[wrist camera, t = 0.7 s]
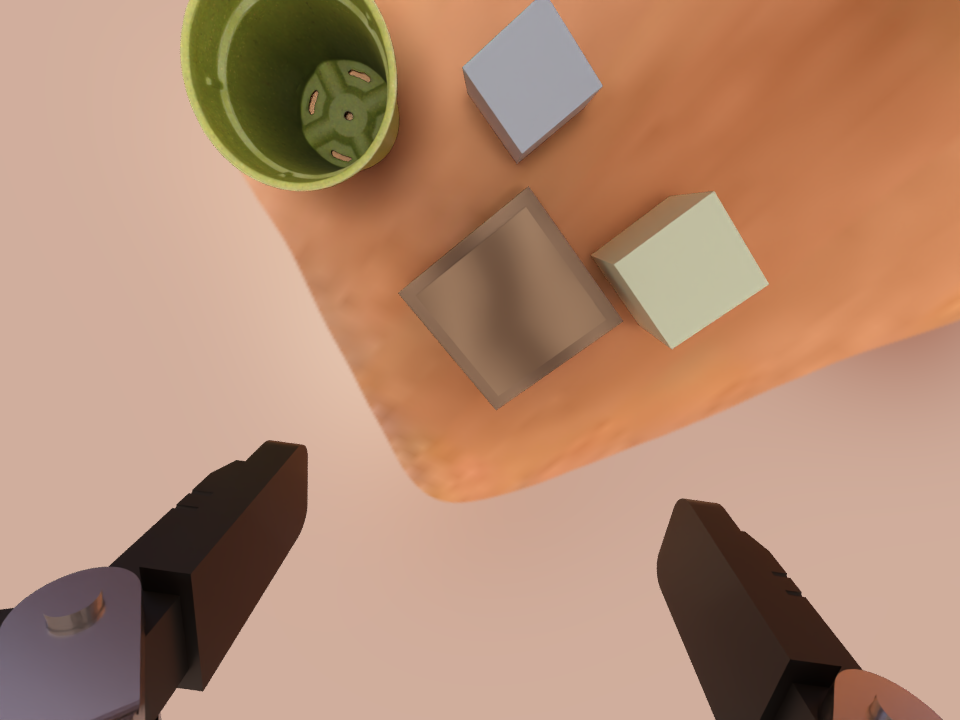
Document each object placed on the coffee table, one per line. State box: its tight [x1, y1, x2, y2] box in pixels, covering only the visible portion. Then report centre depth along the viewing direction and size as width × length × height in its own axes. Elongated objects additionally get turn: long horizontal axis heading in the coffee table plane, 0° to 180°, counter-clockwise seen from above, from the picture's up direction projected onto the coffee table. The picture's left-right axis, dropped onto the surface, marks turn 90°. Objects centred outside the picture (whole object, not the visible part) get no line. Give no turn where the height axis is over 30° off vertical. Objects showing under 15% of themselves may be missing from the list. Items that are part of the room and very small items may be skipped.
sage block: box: [591, 191, 769, 349], centre depth 27 cm, size 6×6×6 cm
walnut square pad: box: [398, 186, 623, 410], centre depth 29 cm, size 10×10×3 cm
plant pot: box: [180, 0, 399, 191], centre depth 23 cm, size 9×9×9 cm
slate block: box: [462, 0, 603, 164], centre depth 24 cm, size 5×5×5 cm
